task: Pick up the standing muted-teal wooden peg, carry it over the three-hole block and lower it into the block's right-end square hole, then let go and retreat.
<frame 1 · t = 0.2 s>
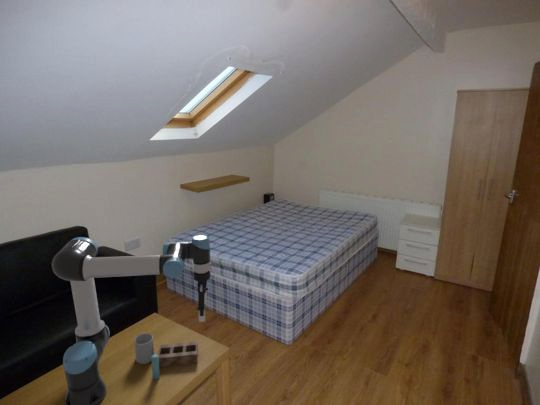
hand: (203, 312, 154), 27 cm above the table, fingers open, 13 cm apart
mug: (145, 355, 165), on the table
hole block: (178, 358, 163), on the table
peg: (156, 376, 152), on the table
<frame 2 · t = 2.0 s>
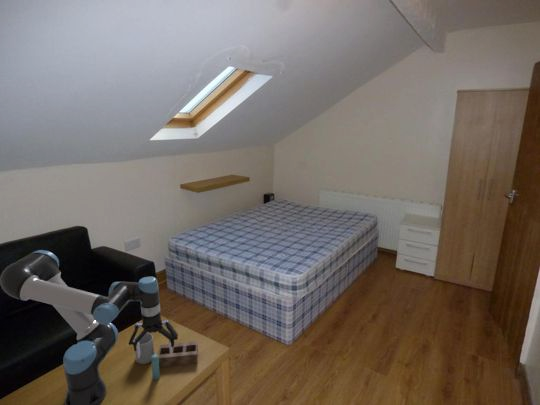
hand: (155, 354, 148), 12 cm above the table, fingers open, 13 cm apart
nothing on the table moved.
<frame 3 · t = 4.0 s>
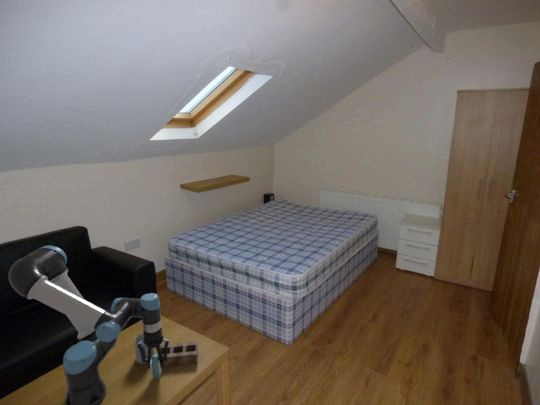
hand: (156, 373, 151), 2 cm above the table, fingers closed on peg, 3 cm apart
peg: (157, 376, 152), on the table, touching gripper
everything else where it was.
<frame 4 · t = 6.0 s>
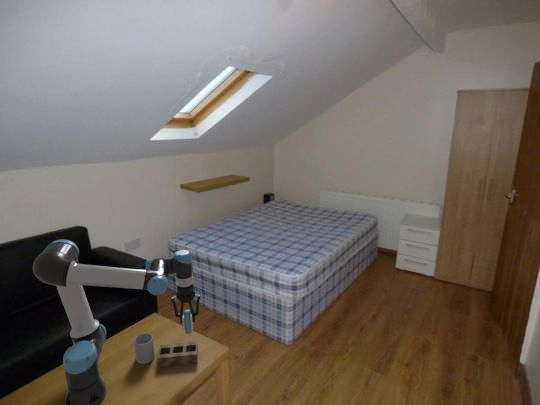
hand: (188, 327, 158), 17 cm above the table, fingers closed on peg, 3 cm apart
peg: (188, 331, 159), point 15 cm above the table, touching gripper
everything else where it was.
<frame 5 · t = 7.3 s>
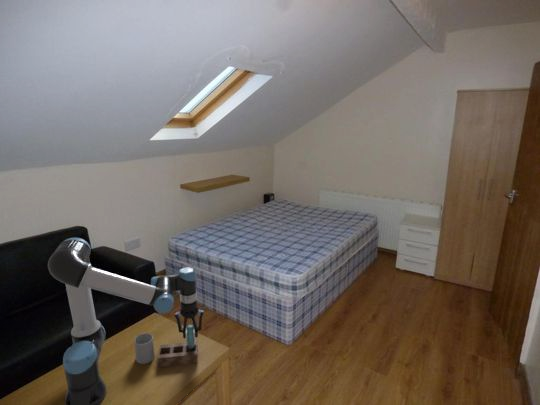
hand: (190, 342, 162), 8 cm above the table, fingers closed on peg, 3 cm apart
peg: (191, 346, 163), point 6 cm above the table, touching gripper
everything else where it was.
when the fingers open (6 cm above the table, at t = 8.4 s): peg drops 4 cm, resting in hole block.
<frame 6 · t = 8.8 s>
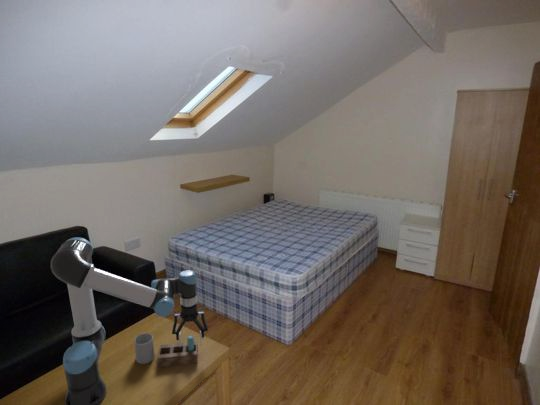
hand: (190, 343, 162), 8 cm above the table, fingers open, 9 cm apart
peg: (191, 356, 164), resting in hole block
everything else where it was.
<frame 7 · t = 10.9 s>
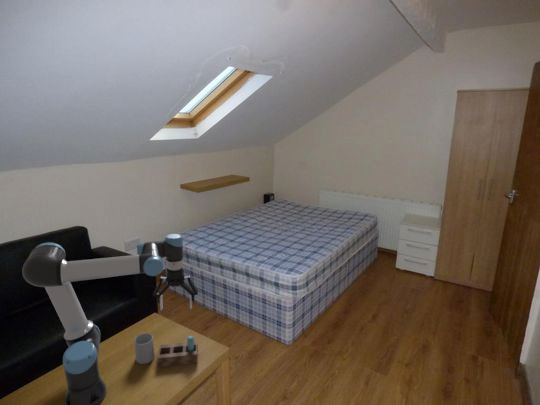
hand: (176, 308, 160), 25 cm above the table, fingers open, 13 cm apart
nothing on the table moved.
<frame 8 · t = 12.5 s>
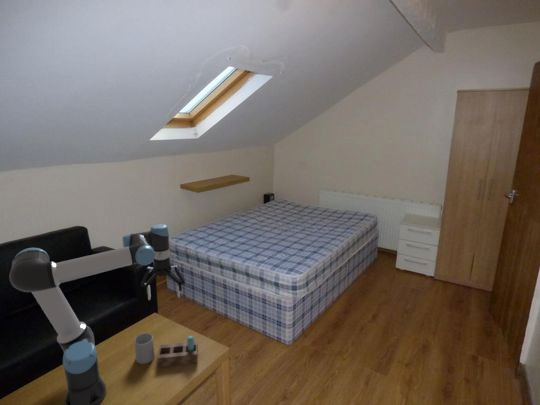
hand: (164, 297, 162), 29 cm above the table, fingers open, 13 cm apart
nothing on the table moved.
at the end: peg 0.0 cm from the target spot on the hole block, point 0.0 cm above the hole block's base; peg tilted 0°; the gripper is holding nothing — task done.
